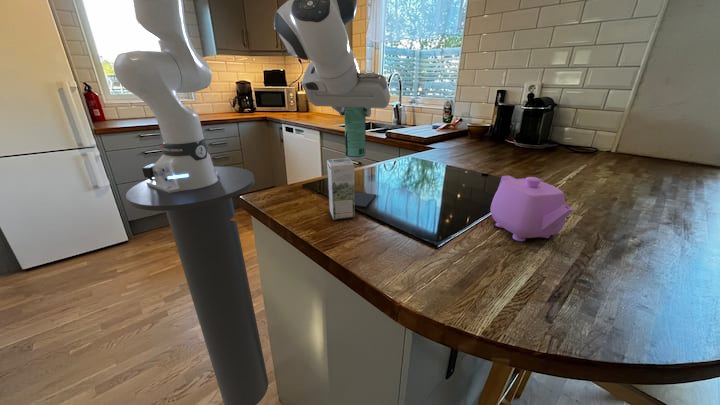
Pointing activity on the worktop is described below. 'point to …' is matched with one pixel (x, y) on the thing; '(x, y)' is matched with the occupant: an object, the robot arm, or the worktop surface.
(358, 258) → the worktop surface
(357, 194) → the coaster
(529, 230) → the teapot
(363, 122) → the spray can
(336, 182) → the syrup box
